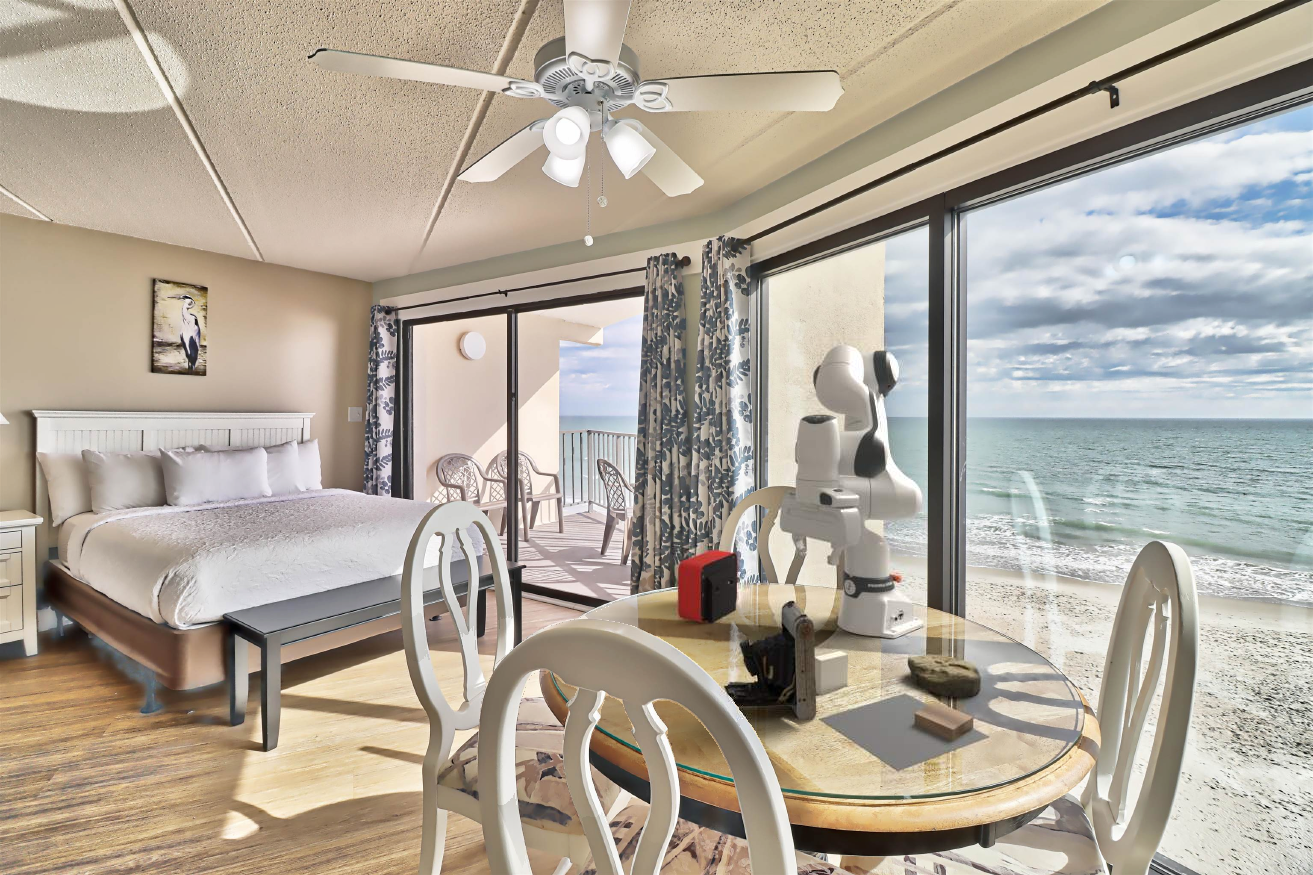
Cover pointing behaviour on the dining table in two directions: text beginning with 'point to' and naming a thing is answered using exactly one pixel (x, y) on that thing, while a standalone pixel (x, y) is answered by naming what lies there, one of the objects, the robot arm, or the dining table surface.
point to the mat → (896, 732)
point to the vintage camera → (781, 667)
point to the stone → (945, 675)
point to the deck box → (831, 672)
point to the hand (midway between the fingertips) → (816, 560)
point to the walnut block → (944, 721)
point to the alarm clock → (707, 586)
